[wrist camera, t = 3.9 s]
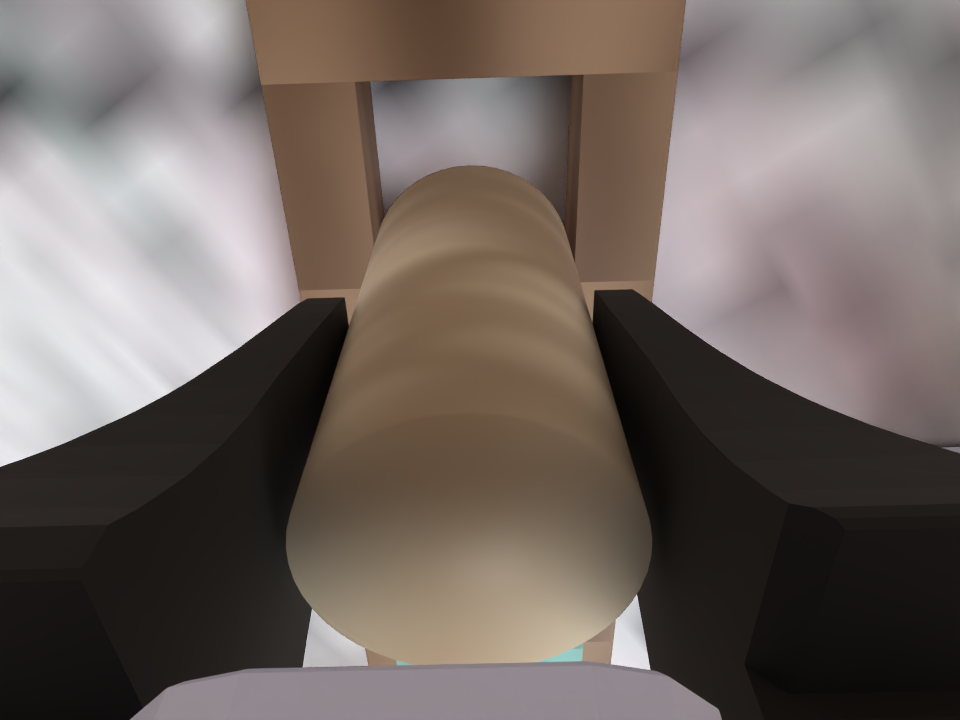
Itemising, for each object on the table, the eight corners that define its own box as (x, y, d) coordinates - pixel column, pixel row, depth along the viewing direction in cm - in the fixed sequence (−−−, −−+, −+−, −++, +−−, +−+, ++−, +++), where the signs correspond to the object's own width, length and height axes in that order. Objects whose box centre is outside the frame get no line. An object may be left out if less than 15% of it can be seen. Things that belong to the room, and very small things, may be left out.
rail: (664, -42, 18) (693, -36, 15) (600, 624, 31) (610, 682, 29) (269, -29, 18) (237, -20, 15) (378, 629, 32) (370, 687, 29)
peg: (573, 162, 13) (672, 407, 7) (565, 341, 16) (635, 667, 9) (365, 168, 13) (252, 418, 7) (385, 346, 16) (316, 674, 9)
